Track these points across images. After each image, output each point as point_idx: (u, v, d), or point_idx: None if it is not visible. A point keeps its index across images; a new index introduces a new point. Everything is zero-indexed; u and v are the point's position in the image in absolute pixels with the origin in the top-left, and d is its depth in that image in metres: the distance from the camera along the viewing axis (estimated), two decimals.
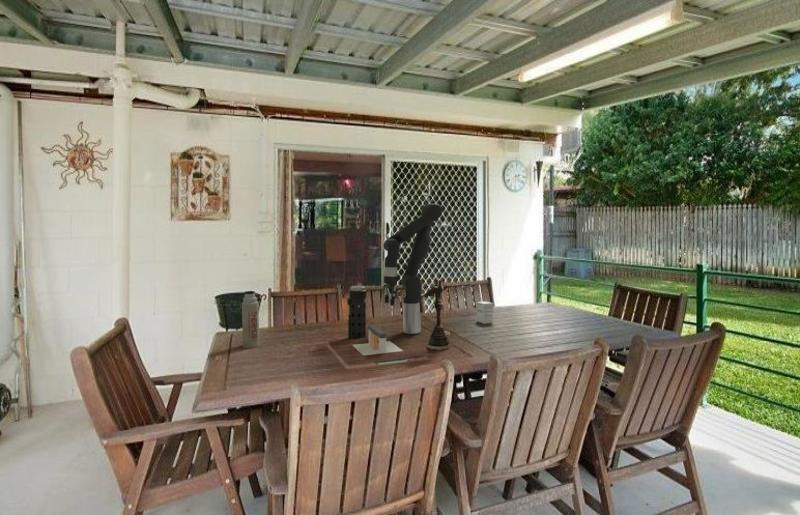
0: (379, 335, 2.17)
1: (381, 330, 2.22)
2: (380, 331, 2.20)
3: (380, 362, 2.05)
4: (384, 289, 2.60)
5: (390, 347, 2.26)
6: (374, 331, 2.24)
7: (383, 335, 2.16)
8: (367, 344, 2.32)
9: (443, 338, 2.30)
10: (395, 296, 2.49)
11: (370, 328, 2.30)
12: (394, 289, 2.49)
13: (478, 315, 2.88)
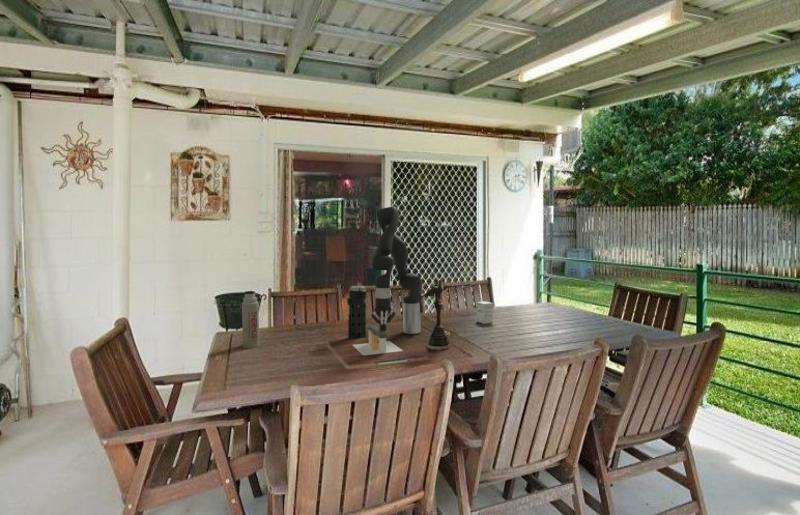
0: (379, 335, 2.17)
1: (381, 330, 2.22)
2: (380, 331, 2.20)
3: (380, 362, 2.05)
4: None
5: (390, 347, 2.26)
6: (374, 331, 2.24)
7: (383, 335, 2.16)
8: (367, 344, 2.32)
9: (443, 338, 2.30)
10: None
11: (370, 328, 2.30)
12: None
13: (478, 315, 2.88)
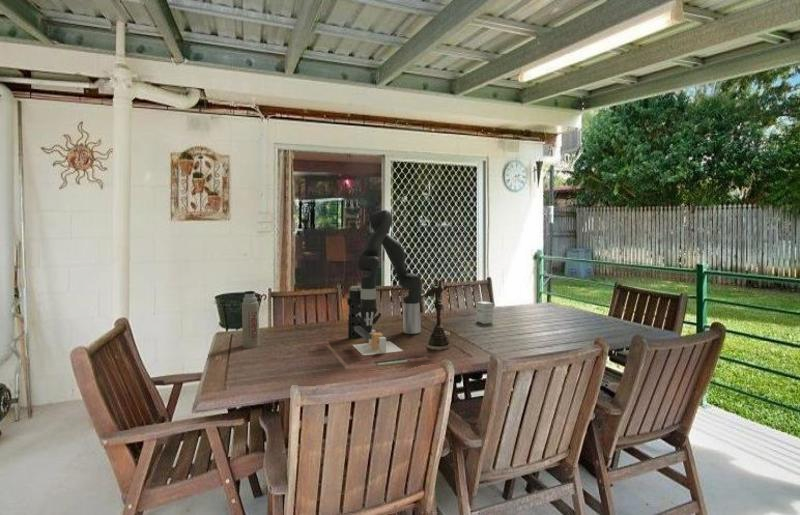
0: (364, 336, 2.14)
1: (366, 331, 2.20)
2: (365, 332, 2.18)
3: (380, 362, 2.05)
4: None
5: (390, 347, 2.26)
6: (359, 332, 2.21)
7: (368, 336, 2.14)
8: (367, 344, 2.32)
9: (443, 338, 2.30)
10: None
11: (356, 329, 2.27)
12: None
13: (478, 315, 2.88)
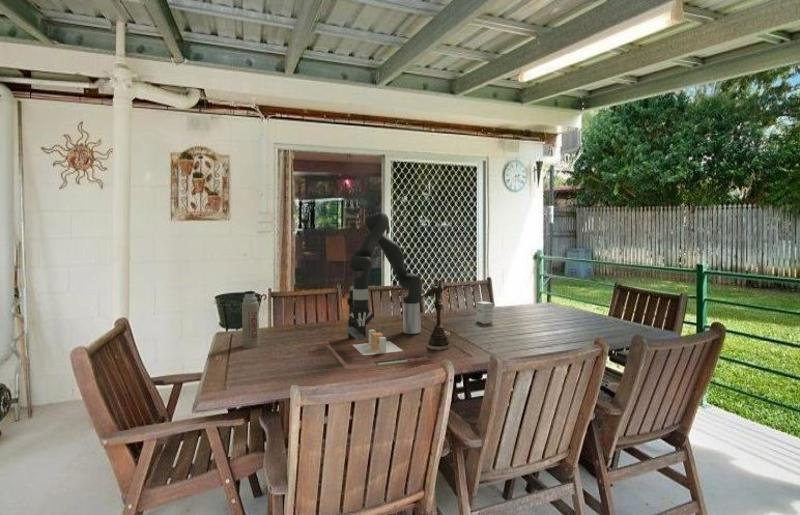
0: (356, 337, 2.13)
1: (359, 332, 2.18)
2: (357, 333, 2.16)
3: (380, 362, 2.05)
4: None
5: (390, 347, 2.26)
6: (352, 333, 2.20)
7: (360, 337, 2.12)
8: (367, 344, 2.32)
9: (443, 338, 2.30)
10: None
11: (348, 330, 2.26)
12: None
13: (478, 315, 2.88)
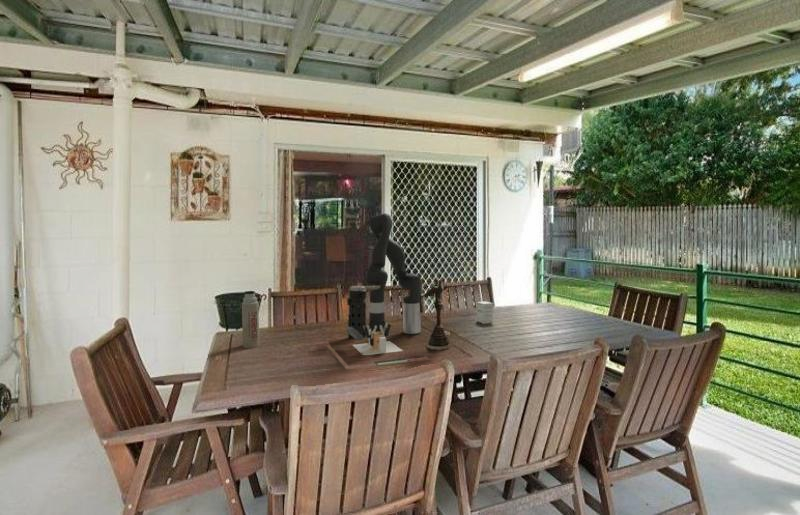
0: (356, 337, 2.13)
1: (358, 332, 2.18)
2: (357, 333, 2.16)
3: (380, 362, 2.05)
4: None
5: (390, 347, 2.26)
6: (351, 333, 2.20)
7: (360, 337, 2.12)
8: (367, 344, 2.32)
9: (443, 338, 2.30)
10: None
11: (348, 330, 2.26)
12: None
13: (478, 315, 2.88)
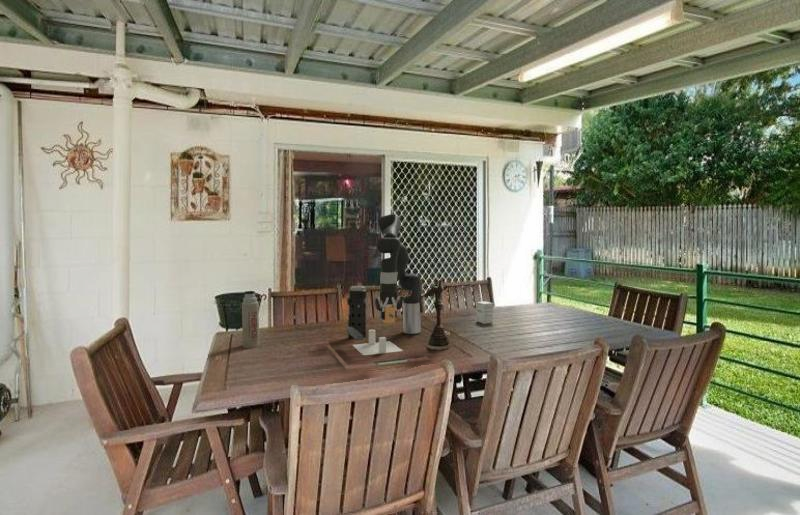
0: (356, 337, 2.13)
1: (358, 332, 2.18)
2: (357, 333, 2.16)
3: (380, 362, 2.05)
4: None
5: (390, 347, 2.26)
6: (351, 333, 2.20)
7: (360, 337, 2.12)
8: (367, 344, 2.32)
9: (443, 338, 2.30)
10: None
11: (348, 330, 2.26)
12: None
13: (478, 315, 2.88)
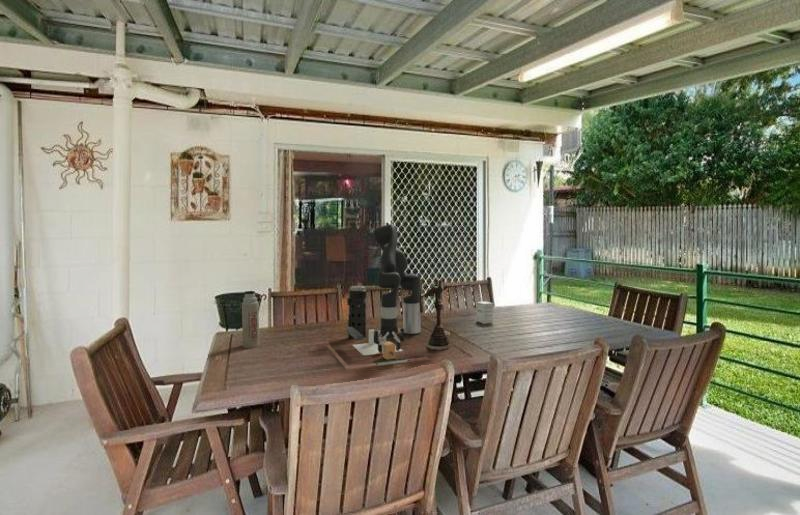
0: (356, 337, 2.13)
1: (358, 332, 2.18)
2: (357, 333, 2.16)
3: (380, 362, 2.05)
4: (377, 337, 2.06)
5: None
6: (351, 333, 2.20)
7: (360, 337, 2.12)
8: (367, 344, 2.32)
9: (443, 338, 2.30)
10: None
11: (348, 330, 2.26)
12: None
13: (478, 315, 2.88)
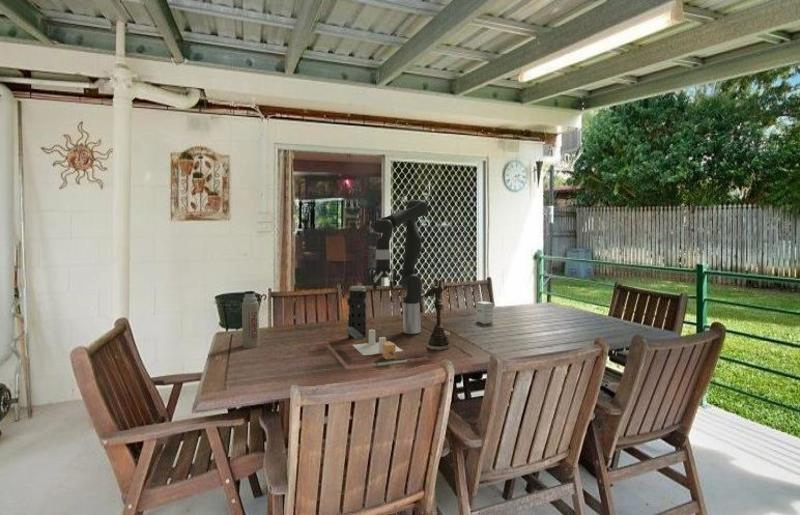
0: (356, 337, 2.13)
1: (358, 332, 2.18)
2: (357, 333, 2.16)
3: (380, 362, 2.05)
4: (372, 275, 2.36)
5: None
6: (351, 333, 2.20)
7: (360, 337, 2.12)
8: (367, 344, 2.32)
9: (443, 338, 2.30)
10: None
11: (348, 330, 2.26)
12: None
13: (478, 315, 2.88)
